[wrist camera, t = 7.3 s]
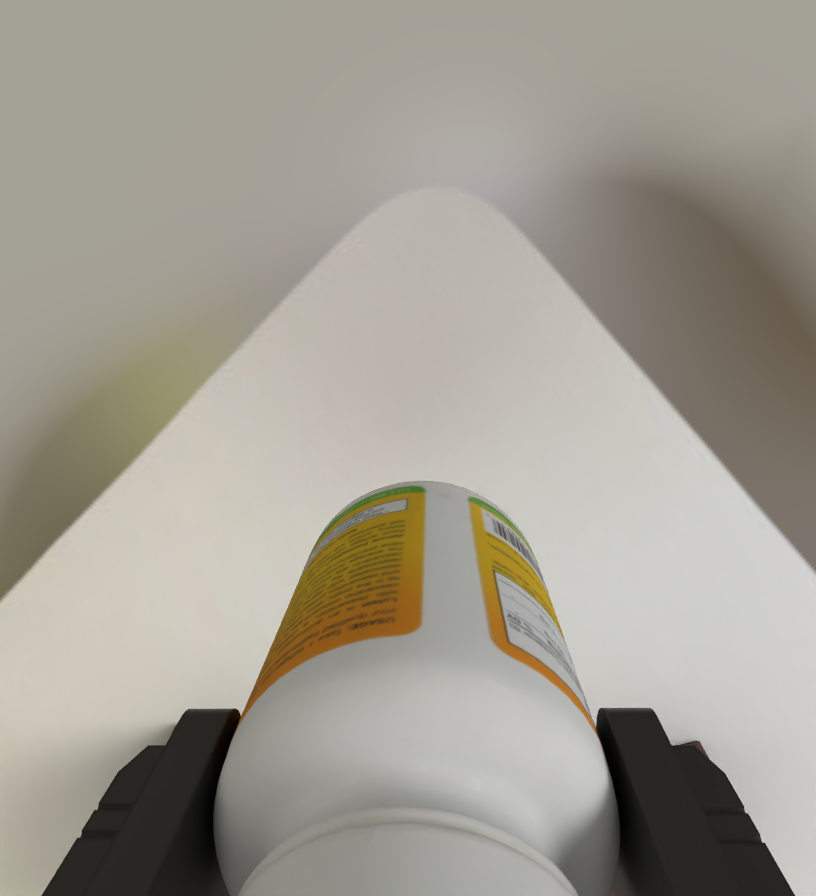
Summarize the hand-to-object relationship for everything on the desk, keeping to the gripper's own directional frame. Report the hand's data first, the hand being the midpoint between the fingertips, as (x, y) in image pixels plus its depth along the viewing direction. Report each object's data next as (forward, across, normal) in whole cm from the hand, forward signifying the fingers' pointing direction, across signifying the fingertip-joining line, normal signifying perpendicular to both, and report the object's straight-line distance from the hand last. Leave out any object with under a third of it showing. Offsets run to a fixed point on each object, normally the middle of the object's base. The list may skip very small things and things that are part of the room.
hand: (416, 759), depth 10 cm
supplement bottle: (+6, 0, 0) cm, 6 cm away
